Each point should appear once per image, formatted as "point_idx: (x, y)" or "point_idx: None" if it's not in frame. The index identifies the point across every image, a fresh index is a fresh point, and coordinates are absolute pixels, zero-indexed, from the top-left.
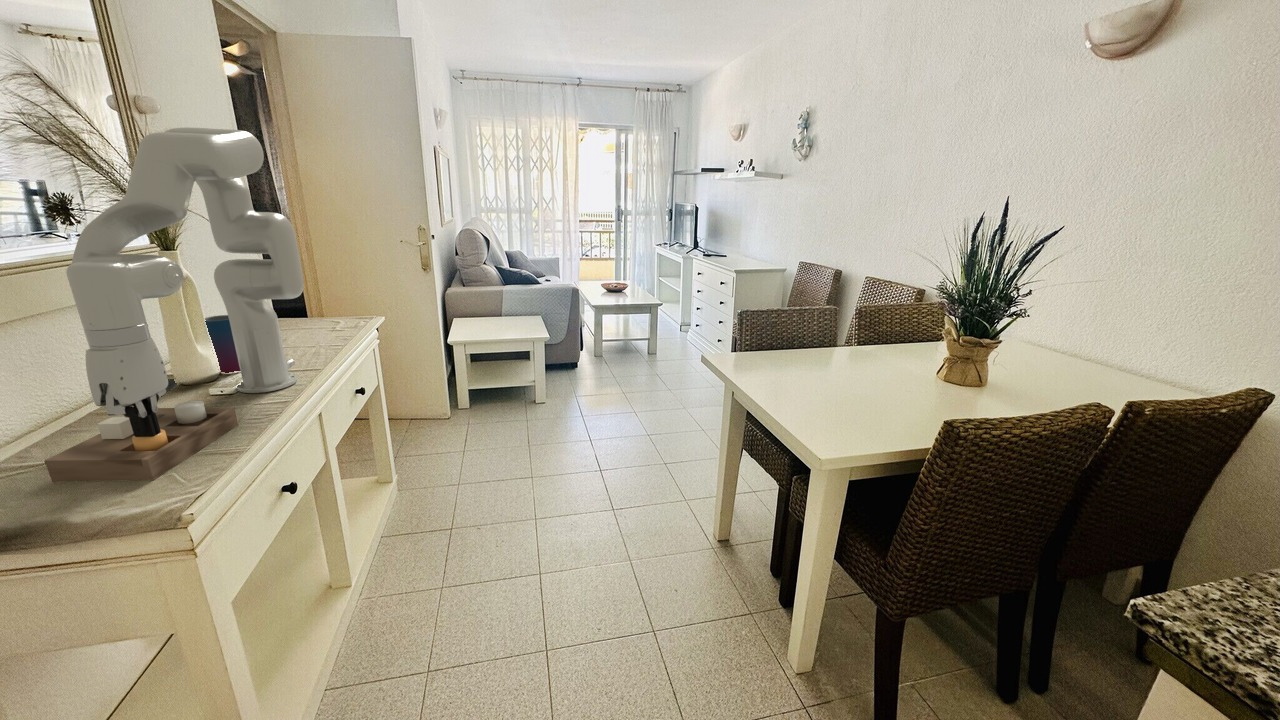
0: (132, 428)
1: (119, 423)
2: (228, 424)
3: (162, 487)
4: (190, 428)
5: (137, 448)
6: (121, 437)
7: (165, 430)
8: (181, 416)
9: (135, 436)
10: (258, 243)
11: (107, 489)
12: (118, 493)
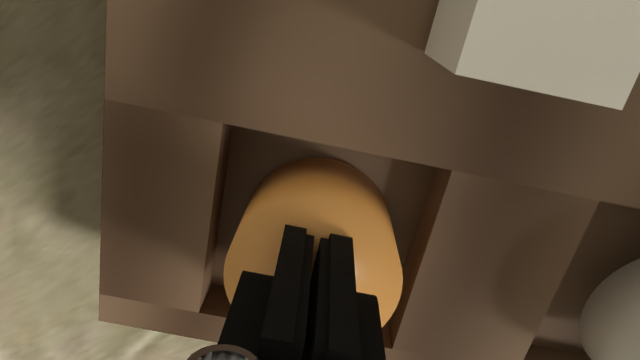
0: (278, 258)
1: (465, 72)
2: None
3: (87, 305)
4: (492, 351)
5: (245, 212)
6: (428, 43)
7: (515, 235)
8: (618, 336)
9: (286, 225)
10: None
11: (80, 111)
12: (44, 176)
